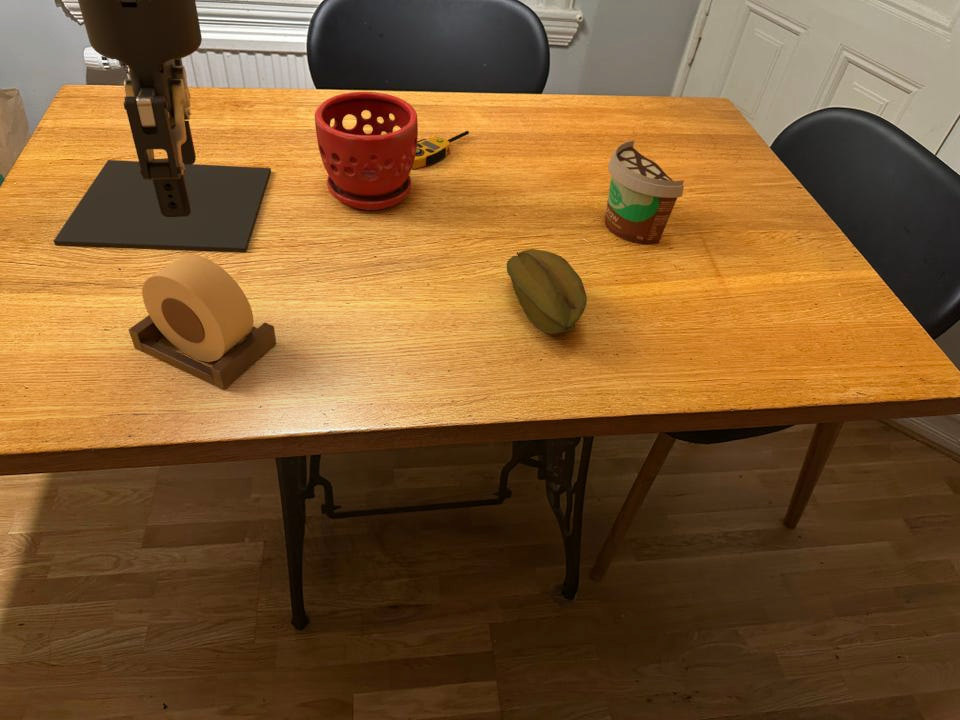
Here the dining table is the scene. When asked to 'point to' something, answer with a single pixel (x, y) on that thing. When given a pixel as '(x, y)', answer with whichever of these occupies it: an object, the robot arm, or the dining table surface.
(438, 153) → the walkie talkie
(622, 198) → the food container
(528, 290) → the fruit
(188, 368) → the holder
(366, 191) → the flower pot
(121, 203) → the mat
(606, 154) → the dining table surface
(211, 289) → the tape roll
